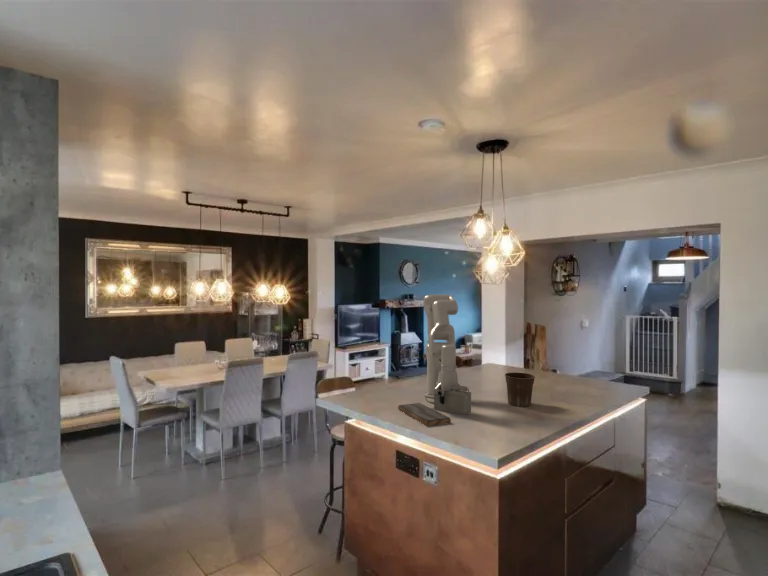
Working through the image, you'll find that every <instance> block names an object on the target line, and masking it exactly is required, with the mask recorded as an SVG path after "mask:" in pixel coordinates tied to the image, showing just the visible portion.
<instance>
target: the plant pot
mask: <svg viewBox="0 0 768 576" xmlns="http://www.w3.org/2000/svg"><path fill="white" fill-rule="evenodd" d="M504 376H505V383H506V390H507V391H506V393H507V404H508V405H511V406H514V407H517V406H519V408H524V407H530V406H532V396H533V387H534V384H535V378H536V376H535V375H534V374H531V373H526V372H506V373H504Z"/></svg>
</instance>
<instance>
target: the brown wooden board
mask: <svg viewBox="0 0 768 576" xmlns="http://www.w3.org/2000/svg"><path fill="white" fill-rule="evenodd" d="M398 409H399V410H400V412H401V411H402V412H401V413H403V412H404V413H405V414H404V413H403V414H404V415H406V414H407V415H406V416H408V415H409V416H408V417H410V418H411V417H412V418H411V419H413V418H414V419H413V420H415V419H416V420H417V422H418V421H419V422H418V423H420V422H421V423H420V424H422V425H423V424H424V425H423V426H425V427H432V425H433V426H440V425H439V424H441V425H447V424H446V423H448V424H451V423H452V422H451V421H452V420H451V417H449V416H447V415H445V414H444V413H441V412H439V411H438V410H436V409H434V408H431V407H428V406H427V405H425V404H423V403H422V402H417V403H408V404H407V403H405V404H399V405H397V410H398ZM399 410H398V411H399ZM416 420H415V421H416Z"/></svg>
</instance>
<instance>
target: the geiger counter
mask: <svg viewBox="0 0 768 576" xmlns="http://www.w3.org/2000/svg"><path fill="white" fill-rule="evenodd" d="M437 385H438V382H436V386H437ZM451 389H453V390H450V391H445V393H444V395H443V396H444V404H441V403H440V395H439V394H438V393H437V392H436V391H435V388H434V393H431V394H434V398H433V400H432V401H431V400H430V401H428V399H427V398H428V397H427V396H428V395H430V394H428V395H427V396H425V401H426V402H427V403H429V404H431V405H433V410H438V409H439V411H444V410H445V411H444V412H451V413H456V414H457V413H458V414H461V415H469V416H470V415H471V414H472V391H470V389H469V388H468V386H466V385H465V386H463V385H460V386H458V385H452V387H451ZM458 390H459V391H458ZM439 391H440V390H439Z"/></svg>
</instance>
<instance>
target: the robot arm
mask: <svg viewBox="0 0 768 576" xmlns="http://www.w3.org/2000/svg"><path fill="white" fill-rule="evenodd" d="M423 309H424V311H425V315H426V323H427V326H426V327H427V342H428V343H427V344H426V346H425V355H426V392H424V394H423V396H424V397H426V396H427V395H428V394H430V395H428V396H427V398H429V399H430V398H431V399H434V394H431V393H434V388H435V391H436V392H437V393H438V394H439V395H440V403H441V404H444V396H443V395H444V393H445V391H450V390H453V389H451V387H452V385H458V386H461V385H460V383H459V381H458V380H459V377H458V373H457V370H456V369H458V365H456V362H457V360H456V359H457V358H456V357H457V356H456V355H457V352H456V351H457V347H456V333H455V328H454V326H453V325H452V324H450V318H449V316H455V315H457V313H458V312H459V306H458V303H457V300H456V299H455V298H454V296H453V295H451V294H427V295H425V296H424V297H423ZM436 341H437V342H436ZM441 341H442V342H441ZM443 341H444V342H443ZM445 341H446V342H445ZM436 382H438V385H437V386H436ZM439 390H440V391H439ZM458 391H460V390H458Z"/></svg>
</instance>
